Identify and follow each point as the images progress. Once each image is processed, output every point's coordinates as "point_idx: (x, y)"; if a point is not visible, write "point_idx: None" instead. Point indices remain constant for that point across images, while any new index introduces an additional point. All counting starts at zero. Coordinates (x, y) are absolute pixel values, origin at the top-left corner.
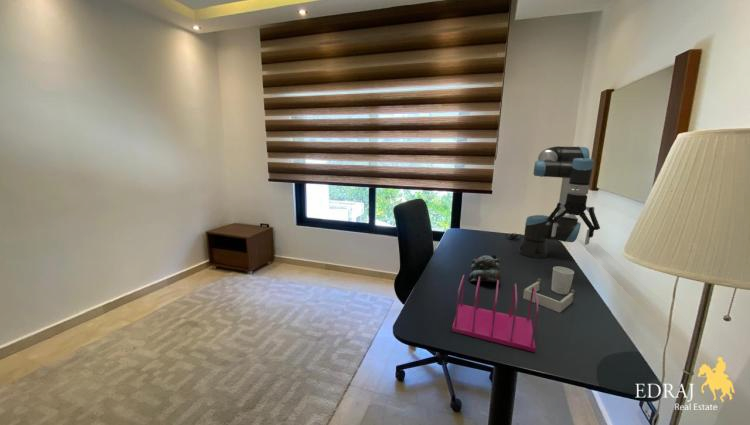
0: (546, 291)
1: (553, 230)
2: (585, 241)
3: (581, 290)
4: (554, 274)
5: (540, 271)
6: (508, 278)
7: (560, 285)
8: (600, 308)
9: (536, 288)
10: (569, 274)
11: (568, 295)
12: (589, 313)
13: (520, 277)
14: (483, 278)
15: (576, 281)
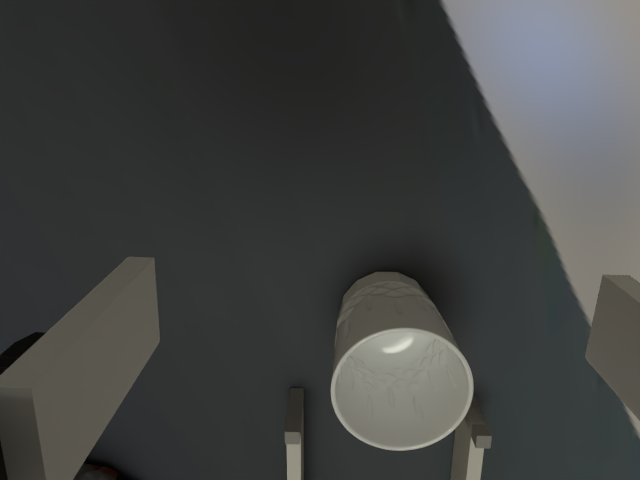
0: None
1: (113, 403)
2: (612, 385)
3: (473, 197)
4: (359, 417)
5: (168, 85)
6: None
7: (400, 385)
8: None
9: (302, 441)
10: (453, 425)
11: (471, 475)
12: (557, 442)
13: None
14: None
15: (412, 58)
